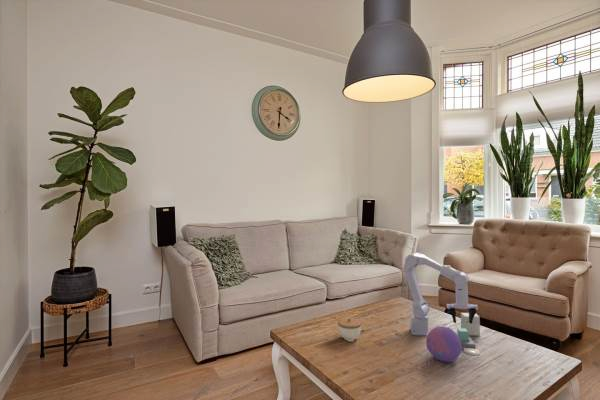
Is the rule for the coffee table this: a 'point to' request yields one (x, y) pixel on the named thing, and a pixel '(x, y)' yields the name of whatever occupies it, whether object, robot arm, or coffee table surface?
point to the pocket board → (468, 343)
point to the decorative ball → (443, 344)
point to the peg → (462, 334)
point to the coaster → (471, 351)
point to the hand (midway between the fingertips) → (462, 322)
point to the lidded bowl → (349, 328)
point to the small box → (471, 328)
